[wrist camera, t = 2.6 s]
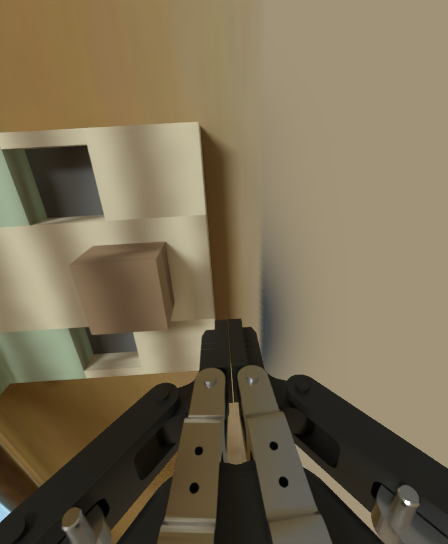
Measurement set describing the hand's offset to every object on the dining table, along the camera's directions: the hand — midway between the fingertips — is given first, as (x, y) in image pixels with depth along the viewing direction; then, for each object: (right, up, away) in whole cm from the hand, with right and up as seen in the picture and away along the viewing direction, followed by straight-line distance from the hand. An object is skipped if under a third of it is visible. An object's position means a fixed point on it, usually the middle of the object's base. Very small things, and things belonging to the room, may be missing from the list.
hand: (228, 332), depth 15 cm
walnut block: (-8, +3, +8) cm, 12 cm away
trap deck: (-13, +4, +11) cm, 18 cm away
